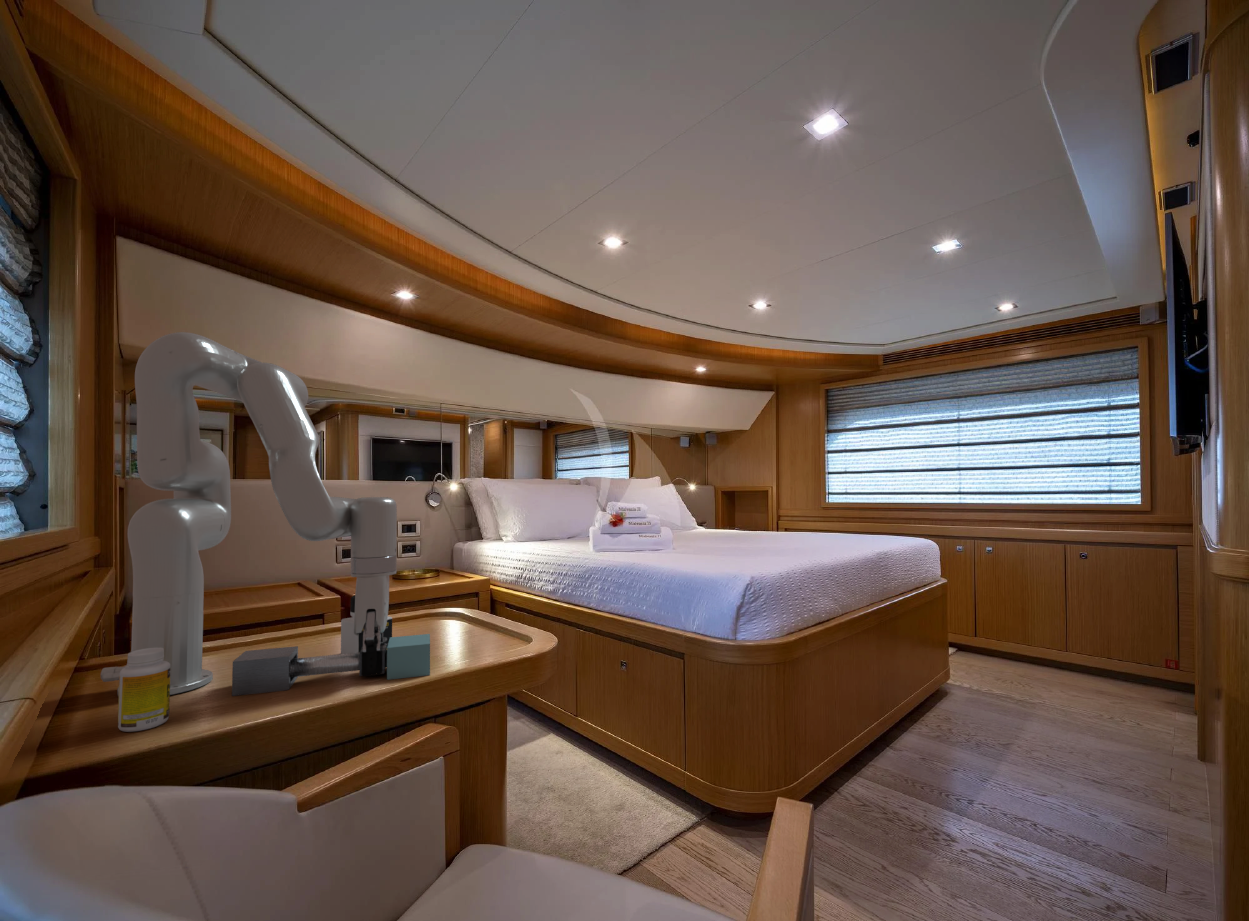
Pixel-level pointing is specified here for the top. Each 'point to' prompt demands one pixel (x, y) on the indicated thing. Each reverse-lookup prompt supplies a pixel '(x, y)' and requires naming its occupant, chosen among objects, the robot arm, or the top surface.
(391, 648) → the block
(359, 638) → the medicine bottle
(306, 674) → the grey long rod
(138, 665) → the supplement bottle
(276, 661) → the sleeve
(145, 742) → the top surface
